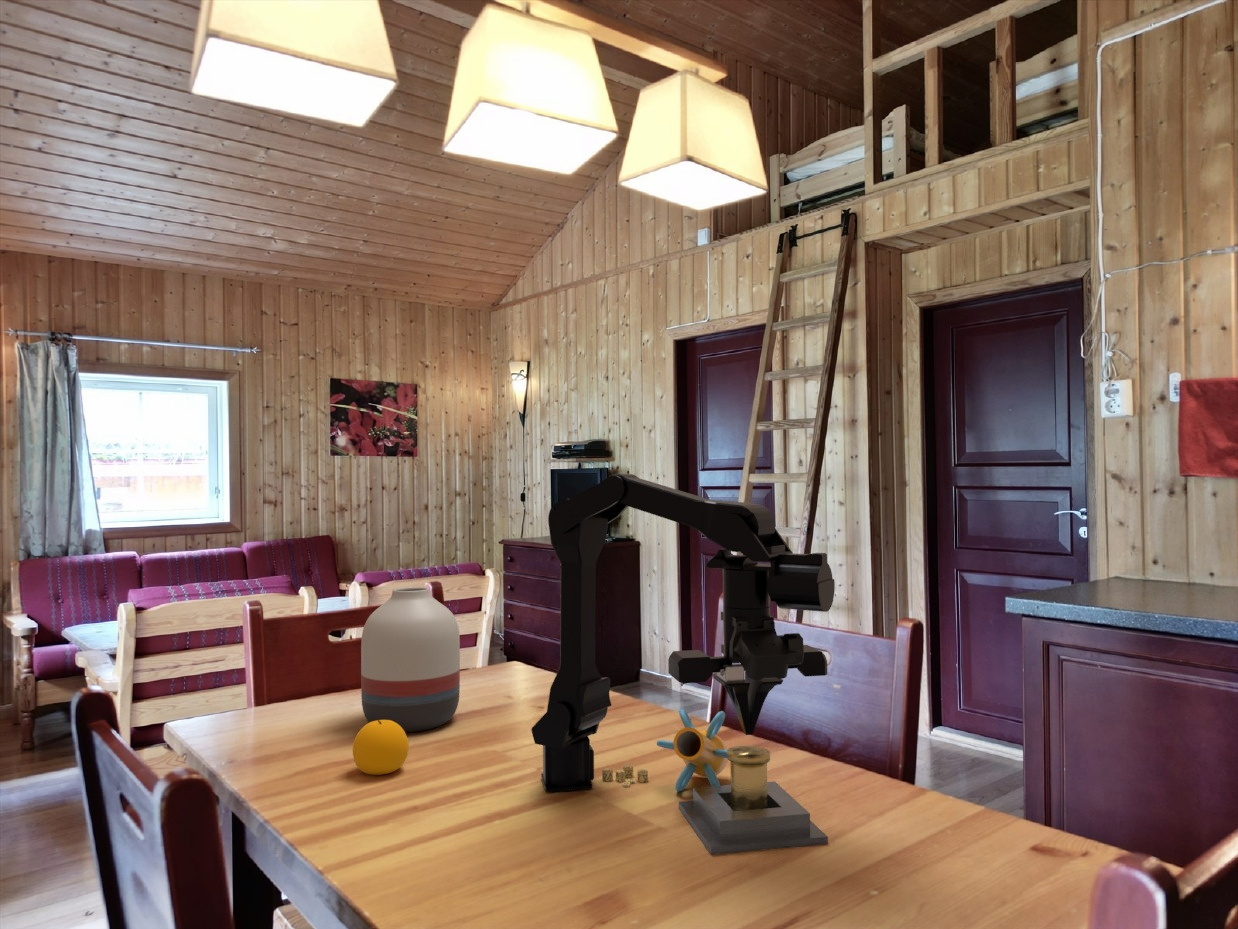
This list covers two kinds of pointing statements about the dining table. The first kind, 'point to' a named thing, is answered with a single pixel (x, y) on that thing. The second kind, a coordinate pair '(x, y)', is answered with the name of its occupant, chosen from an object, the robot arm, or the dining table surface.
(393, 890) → the dining table surface
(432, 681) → the vase
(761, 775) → the bushing
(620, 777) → the mottled tan cylinder cluster
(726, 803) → the plate
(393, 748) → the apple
